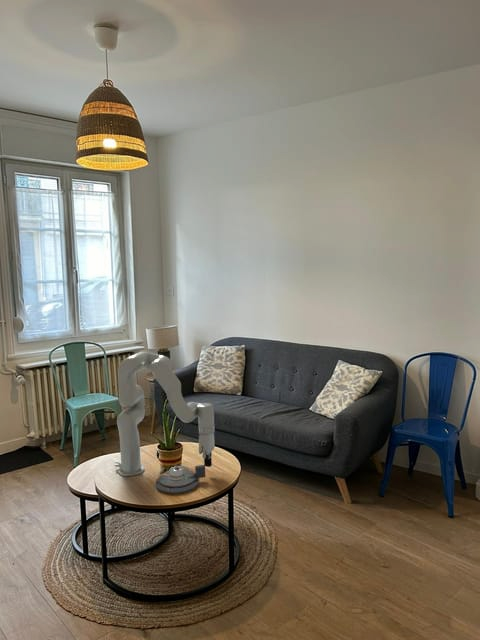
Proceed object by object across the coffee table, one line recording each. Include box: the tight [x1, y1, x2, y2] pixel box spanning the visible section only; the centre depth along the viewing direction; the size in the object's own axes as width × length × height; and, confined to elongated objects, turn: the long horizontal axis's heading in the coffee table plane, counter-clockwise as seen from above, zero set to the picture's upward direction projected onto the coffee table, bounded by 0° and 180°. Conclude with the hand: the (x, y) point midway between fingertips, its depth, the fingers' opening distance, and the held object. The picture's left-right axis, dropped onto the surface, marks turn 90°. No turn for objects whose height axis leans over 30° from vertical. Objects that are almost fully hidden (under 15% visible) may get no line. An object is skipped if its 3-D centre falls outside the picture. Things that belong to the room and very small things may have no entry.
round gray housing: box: [158, 464, 206, 488], centre depth 221 cm, size 20×17×5 cm
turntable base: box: [155, 477, 200, 495], centre depth 222 cm, size 20×20×2 cm
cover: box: [168, 465, 185, 481], centre depth 221 cm, size 8×8×4 cm
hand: (208, 465), depth 231 cm, fingers closed
